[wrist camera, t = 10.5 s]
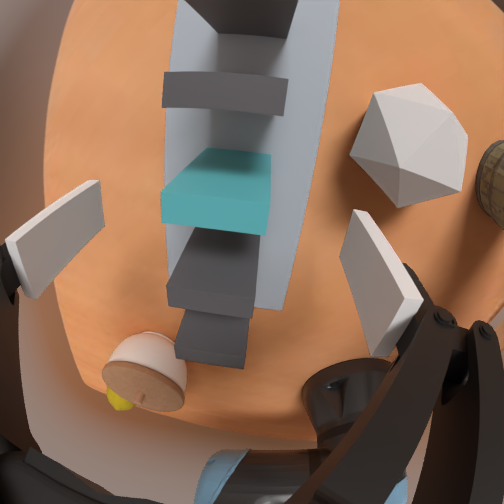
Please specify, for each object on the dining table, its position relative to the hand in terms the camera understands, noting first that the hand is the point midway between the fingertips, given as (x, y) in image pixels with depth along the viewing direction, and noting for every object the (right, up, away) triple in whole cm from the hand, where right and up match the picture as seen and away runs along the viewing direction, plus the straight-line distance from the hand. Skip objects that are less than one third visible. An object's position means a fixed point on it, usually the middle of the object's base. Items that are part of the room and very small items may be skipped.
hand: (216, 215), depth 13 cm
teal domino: (+1, +5, +8) cm, 9 cm away
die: (+13, +8, +6) cm, 16 cm away
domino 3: (0, +1, +10) cm, 11 cm away
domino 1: (+2, +14, +2) cm, 15 cm away
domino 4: (-1, -4, +13) cm, 14 cm away
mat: (+1, +5, +8) cm, 10 cm away
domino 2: (+1, +10, +5) cm, 11 cm away
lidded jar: (-11, -14, +22) cm, 28 cm away
